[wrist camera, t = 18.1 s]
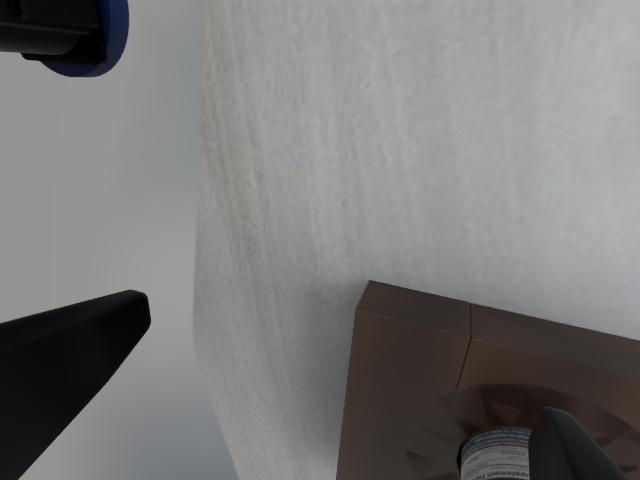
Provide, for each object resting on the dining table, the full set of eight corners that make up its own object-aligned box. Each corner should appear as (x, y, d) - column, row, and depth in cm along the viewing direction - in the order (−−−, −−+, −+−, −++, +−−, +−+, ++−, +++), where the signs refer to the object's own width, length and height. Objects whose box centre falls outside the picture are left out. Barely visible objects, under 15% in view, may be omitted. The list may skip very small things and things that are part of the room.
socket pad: (346, 453, 26) (334, 494, 24) (369, 279, 20) (355, 309, 18) (654, 565, 21) (681, 634, 18) (800, 376, 15) (869, 436, 13)
